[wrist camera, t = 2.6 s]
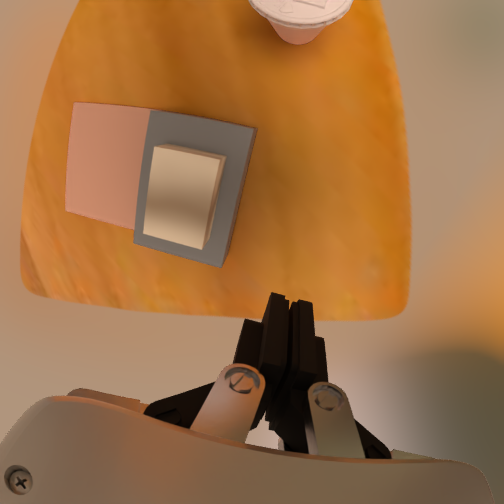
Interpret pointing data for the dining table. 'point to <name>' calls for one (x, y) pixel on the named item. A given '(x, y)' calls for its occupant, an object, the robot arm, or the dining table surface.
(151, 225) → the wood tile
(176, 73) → the dining table surface
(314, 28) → the smoothie
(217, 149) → the plate
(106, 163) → the mat
